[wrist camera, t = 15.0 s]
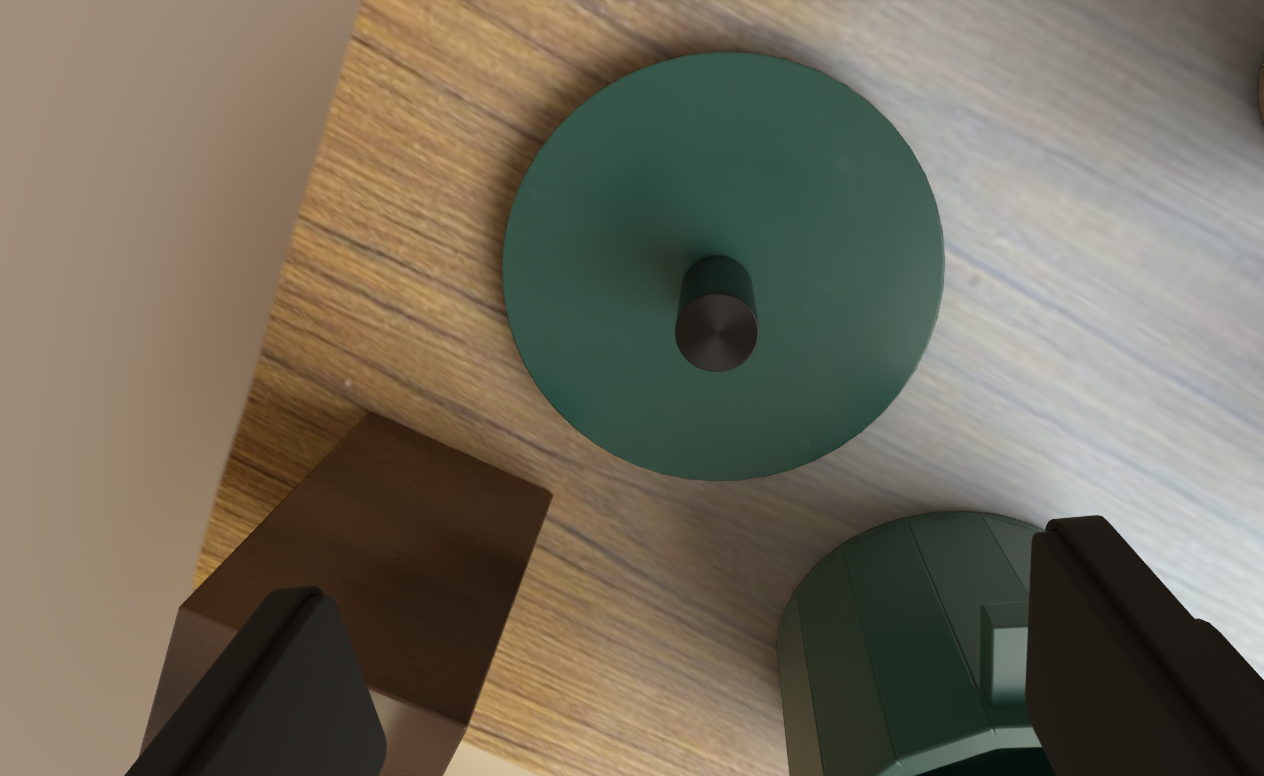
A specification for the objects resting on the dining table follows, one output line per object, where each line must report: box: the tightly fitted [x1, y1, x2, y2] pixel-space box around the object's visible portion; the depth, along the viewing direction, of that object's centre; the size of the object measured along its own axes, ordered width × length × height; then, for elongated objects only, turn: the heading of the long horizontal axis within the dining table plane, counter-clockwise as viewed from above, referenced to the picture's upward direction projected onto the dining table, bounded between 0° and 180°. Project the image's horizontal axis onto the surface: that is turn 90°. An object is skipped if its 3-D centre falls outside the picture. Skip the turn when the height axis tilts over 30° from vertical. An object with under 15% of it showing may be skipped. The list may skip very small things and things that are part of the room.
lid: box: [502, 51, 945, 481], centre depth 25 cm, size 15×15×6 cm
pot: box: [776, 512, 1057, 776], centre depth 28 cm, size 14×19×10 cm
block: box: [138, 412, 553, 776], centre depth 27 cm, size 8×8×12 cm
